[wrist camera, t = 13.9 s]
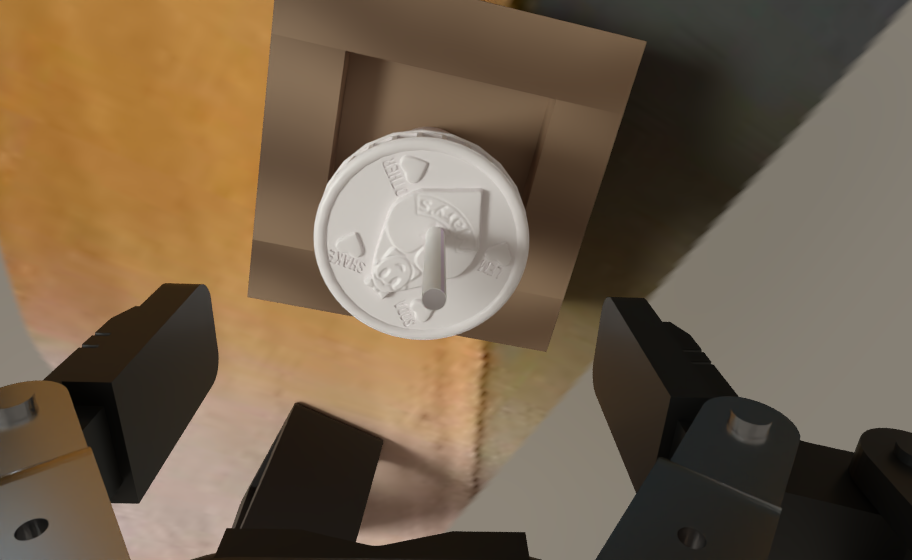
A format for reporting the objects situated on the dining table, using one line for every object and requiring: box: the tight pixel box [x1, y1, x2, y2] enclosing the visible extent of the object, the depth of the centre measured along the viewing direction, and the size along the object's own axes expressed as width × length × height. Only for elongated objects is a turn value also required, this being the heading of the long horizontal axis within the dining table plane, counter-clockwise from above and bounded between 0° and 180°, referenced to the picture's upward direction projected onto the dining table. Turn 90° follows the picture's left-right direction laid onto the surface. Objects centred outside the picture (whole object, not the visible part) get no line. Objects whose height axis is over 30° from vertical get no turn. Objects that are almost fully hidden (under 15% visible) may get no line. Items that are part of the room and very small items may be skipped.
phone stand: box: [232, 403, 383, 542], centre depth 33 cm, size 9×6×12 cm, turn 150°
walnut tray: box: [248, 0, 647, 352], centre depth 28 cm, size 14×14×6 cm
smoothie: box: [314, 127, 529, 340], centre depth 20 cm, size 6×6×14 cm
